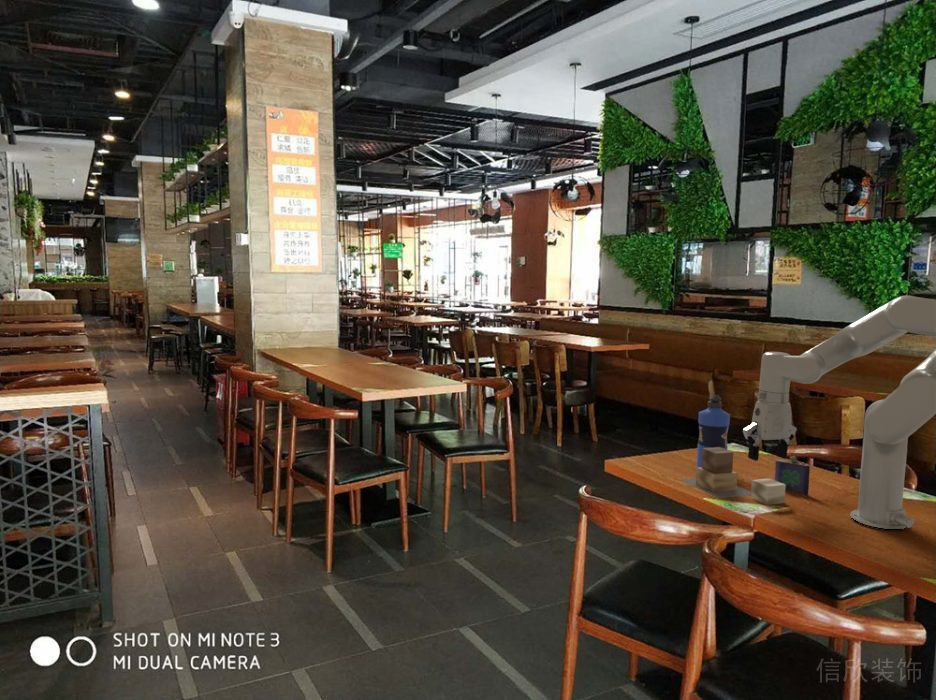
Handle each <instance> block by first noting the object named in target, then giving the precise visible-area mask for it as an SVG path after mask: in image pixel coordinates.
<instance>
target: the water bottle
mask: <svg viewBox="0 0 936 700" xmlns="http://www.w3.org/2000/svg"><path fill="white" fill-rule="evenodd" d="M708 399H709V400H708V401H707V408H706V409H704V410H701V411H699V412H698V420H697V421H698V429H699V431H698V432H699V435H698V436H699V437H698V441H697V451H696V469H697V468H698V467H702V451H703V448H715V447H721V448H723V449H726V450H728V447H729V446H728V431H729V427H730V421H731V420H730V419H731V418H730V417H731V414H730V413H729V412H726V411H724V410H723V409H722V407H723V402H722V401H721V400H722V398H721V397H720V395H719V394H711V395H710V396H709V397H708Z"/></svg>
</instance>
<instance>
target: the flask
mask: <svg viewBox="0 0 936 700" xmlns="http://www.w3.org/2000/svg"><path fill="white" fill-rule="evenodd" d="M796 458H797V456H796V455H793V456H789V459H790V460H786V459H776V460H775V463H774V464H775V466H774V467H775V469H774V470H775V472H774V480H775V481H778V482H780V483H783V484H785V485H786V487H785V491H786V490H787V491H791V492H797V493H800V494H801V495H805V496H809V495H808V494H809V489H810V488H809V487H810V486H809V485H810V484H809V483H810V469H811V468H810V467H811V466H810V465H809V464H808V463H805V462H803V461H802V462H800V461H799V460H798V459H796Z"/></svg>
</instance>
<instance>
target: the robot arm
mask: <svg viewBox="0 0 936 700" xmlns="http://www.w3.org/2000/svg"><path fill="white" fill-rule="evenodd" d="M907 333H911V334H917V335H923V336H932V337H936V299H934V298H925V297H918V296H913V295H908V294H907V295H900V296H898V297H896V298H894V299H892V300H890V301H888V302H887V303H884V304H883V305H881V306H880V307H878V308H877V309H875V310H873V311H871V312H870V313H868V314H866V315H864V316H863V317H861V318H859V319H857V320H855V321H854V322H852V323H850V324H849V325H847V326H845V327H843V328H842V329H841V330H840V331H838V333H836V334H834V335H833V336H831V337H830V338H828V339H826V340H824V341H822V342H821V343H819V344H818V345H815V346H814V347H812V348H810V349H809V350H807V351H805V352H803V353H802V354H800V355H791V354H789V353H788V352H781V351H765V352H764V353H763V354H762V356H761V363H760V364H761V365H760V373H759V375H760V376H759V384H758V385H759V386H758V393H756V395H755V397H756V398H757V400H756V403H755V405H754V409H753V414H752V419H751V424H750V425H747V426H746V427H744V428H743V429H742V433H743V436H744V440H745V441H746V443H747V445H748V452H747V453H748V455H747V458H748V459H750V460H753V461H755V462H756V461H758V460H759V458H760V457H759V456H760V446H758V445H760V443H761V442H762V440H764V441H776V440H777V441H778V440H779V441H778V442H777V446H776V454H775V455H776V457H778V458H781V459H782V460H786V459H787V458H788V449H789V448H788V447H789V445H790V444H791V441H792V440H793V439H794V436H795V435H796V432H797V430H798V429H797V427H795V426H794V425H792V421H793V420H792V415H793V414H792V407H791V403H790V402H789V399H790V390H791V389H790V386H791V381H792V382H795V383H798V384H799V383H800V384H805V385H808V384H814V383H815V382H817V381H819V380H820V379H821V377H822V376H823V375H825V374H826V373H828V372H830V371H833V370H834V369H836V368H837V367H839V366H841V365H843V364H845V363H847V362H849V361H851V360H853V359H857V358H860V357H863V356H866V355H868V354H870V353H874V352H875V351H876V350H878V349H879V348H882V347H883V346H885V345H887V344H890V343H891V342H892V341H894V340H897V339H898V338H900V337H902V336H903V335H906V334H907ZM935 415H936V349H935V350H934V351H933V352H931V353H930V355H929V356H928V357H927V358H925V359H924V360H923V361H922V362H920V363H919V364H918V366H916V367H915V368H914V369H912V370H911V371H910V372H908V373H907V374H906V375H904V376H903V378H902V380H901V381H900V383H899V386H898V387H896V389H894V390H893V391H892V392H891V393H890V394H889V395H888V396H886V398H883V399H879V400H876V401H874V402H873V403H871V404H870V405H869V406H868V407H867V409H866V411H865V413H864V423H863V440H862V451H861V452H862V453H861V463H860V473H859V474H860V475H859V490H858V503H857V509H854V510H852V511H850V514H849V515H850V516H851V517H850V516H849V517H850V518H853V519H854V520H856V521H858V522H860V523H863V524H866V525H870V526H874V527H878V528H884V529H903V530H905V529H904V528H906V527H907V528H906V529H910V528H911V527H912V526H913V525H914V523H915V521H916V520H915V518H912V517H909V516H906V515H907V514H906V512H907V510H906V509H905V508H903V499H904V489H905V476H906V468H907V467H906V466H907V456H908V455H907V454H908V443H909V442H908V441H909V437H910V436H911V435H913V434H914V433H915V432H917V430H918V429H920V428H921V427H922V426H923V425H924V424H926V423H927V422H928V421H929V420H931V419H932V418H933V417H934V416H935ZM853 519H852V520H853ZM854 520H853V521H854ZM860 523H859V524H860ZM878 528H877V529H878ZM884 529H883V530H884Z"/></svg>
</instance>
